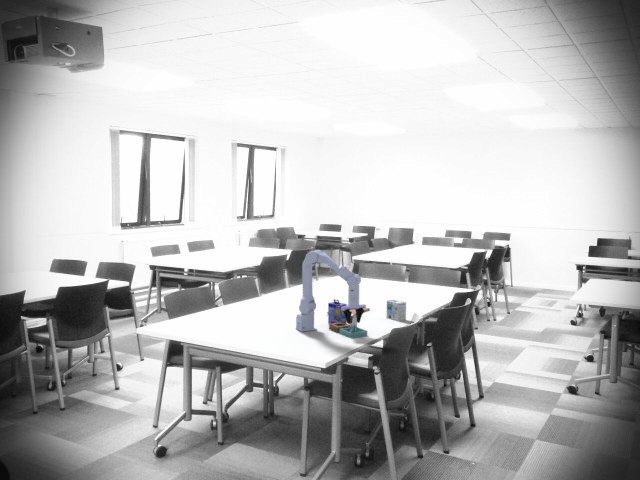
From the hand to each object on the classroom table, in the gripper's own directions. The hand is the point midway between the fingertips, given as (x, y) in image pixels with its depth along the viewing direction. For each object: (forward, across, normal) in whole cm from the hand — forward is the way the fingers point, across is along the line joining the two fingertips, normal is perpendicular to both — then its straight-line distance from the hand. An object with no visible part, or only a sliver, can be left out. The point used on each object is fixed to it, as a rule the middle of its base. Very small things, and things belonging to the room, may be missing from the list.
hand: (353, 322), depth 299 cm
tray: (+6, 0, 0) cm, 6 cm away
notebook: (+7, +30, +51) cm, 59 cm away
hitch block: (+6, -1, +12) cm, 13 cm away
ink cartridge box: (+6, +5, +24) cm, 26 cm away
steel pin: (+6, 0, 0) cm, 6 cm away
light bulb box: (+6, +44, +20) cm, 49 cm away
